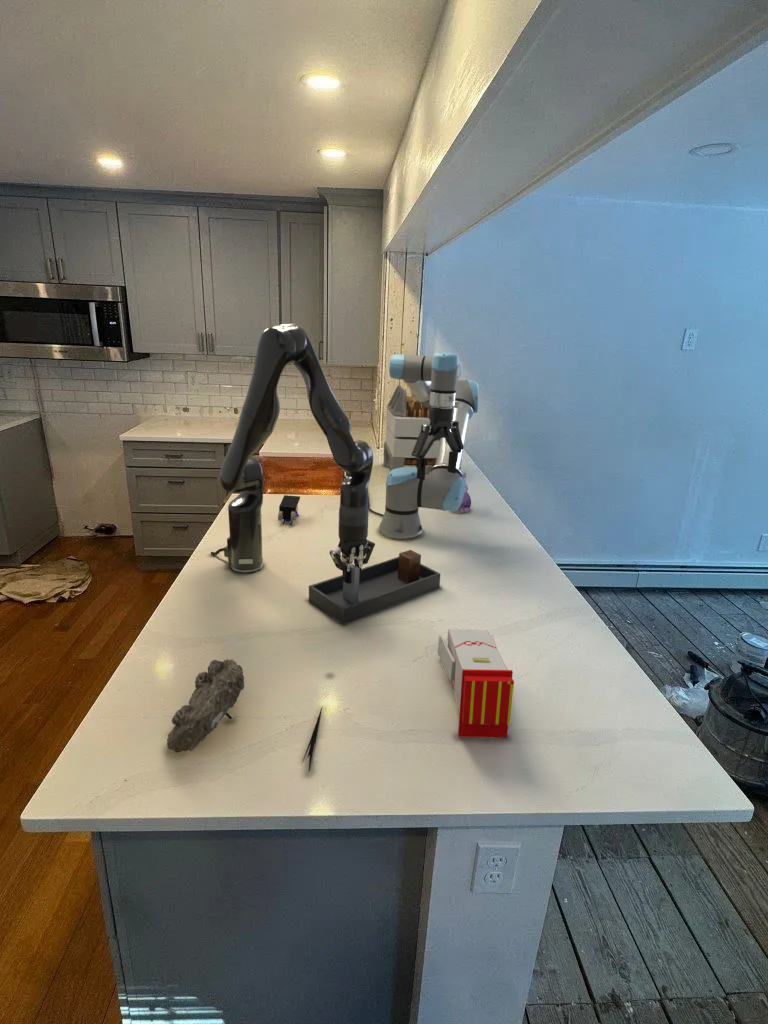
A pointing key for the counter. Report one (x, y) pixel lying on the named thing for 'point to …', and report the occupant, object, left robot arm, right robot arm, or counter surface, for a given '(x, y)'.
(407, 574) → the block
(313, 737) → the feather
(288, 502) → the figurine character
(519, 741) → the counter surface
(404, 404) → the white wooden crate
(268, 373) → the left robot arm
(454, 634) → the toy
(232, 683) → the fossil
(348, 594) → the tray
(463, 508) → the figurine
